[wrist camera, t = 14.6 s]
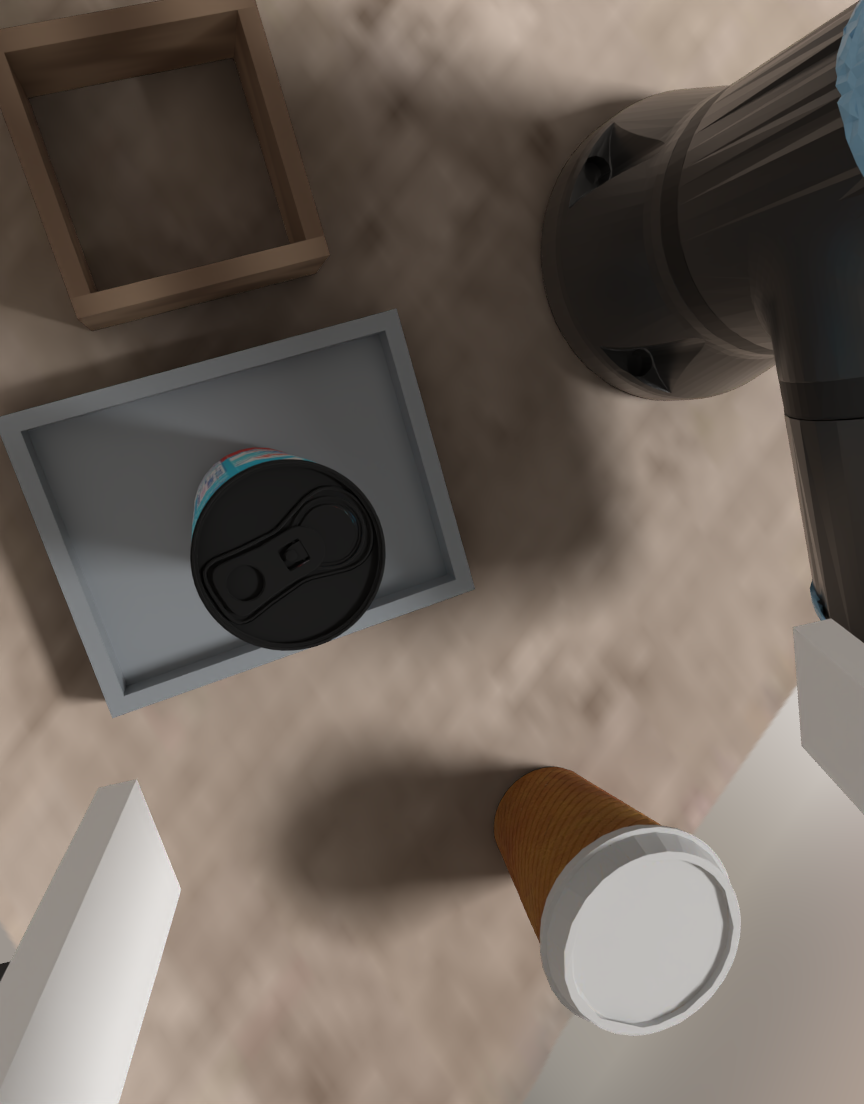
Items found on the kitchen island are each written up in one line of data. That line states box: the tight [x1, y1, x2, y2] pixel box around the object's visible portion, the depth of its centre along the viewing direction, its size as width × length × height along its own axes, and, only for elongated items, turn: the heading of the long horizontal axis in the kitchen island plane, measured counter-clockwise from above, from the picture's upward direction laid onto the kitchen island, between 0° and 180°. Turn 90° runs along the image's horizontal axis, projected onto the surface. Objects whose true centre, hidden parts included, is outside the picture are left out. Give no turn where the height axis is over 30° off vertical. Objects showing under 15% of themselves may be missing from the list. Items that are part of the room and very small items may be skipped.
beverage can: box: [190, 447, 386, 651], centre depth 32 cm, size 6×6×15 cm
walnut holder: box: [0, 0, 330, 331], centre depth 35 cm, size 11×11×4 cm
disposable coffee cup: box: [494, 767, 741, 1036], centre depth 42 cm, size 10×10×12 cm
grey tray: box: [0, 308, 475, 718], centre depth 39 cm, size 18×14×2 cm
